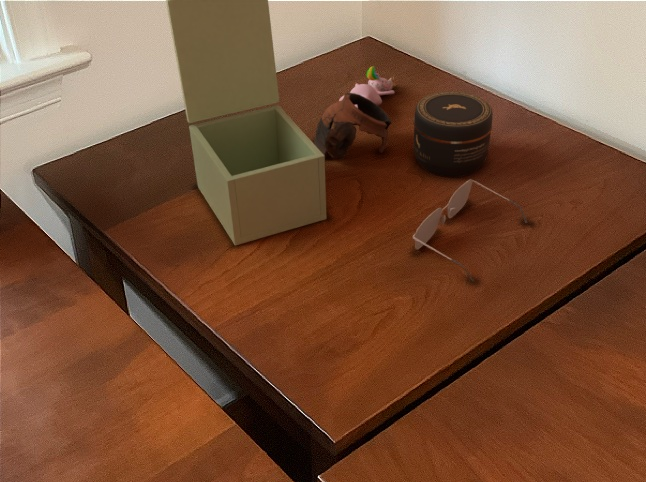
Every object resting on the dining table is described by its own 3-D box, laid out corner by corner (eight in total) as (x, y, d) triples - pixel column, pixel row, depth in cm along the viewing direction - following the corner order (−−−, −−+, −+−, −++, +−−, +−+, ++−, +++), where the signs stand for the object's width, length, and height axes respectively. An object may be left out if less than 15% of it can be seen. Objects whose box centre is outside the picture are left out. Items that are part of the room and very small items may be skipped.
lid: (266, -17, 93) (251, -26, 97) (167, 0, 89) (155, -9, 93) (279, 102, 101) (265, 90, 105) (189, 123, 97) (177, 110, 101)
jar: (398, 150, 110) (400, 99, 105) (462, 134, 113) (467, 83, 109) (435, 187, 103) (439, 134, 98) (502, 169, 106) (509, 116, 101)
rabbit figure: (366, 91, 127) (324, 119, 115) (369, 52, 124) (326, 78, 112) (404, 98, 125) (365, 128, 113) (407, 59, 122) (368, 86, 110)
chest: (326, 219, 98) (324, 155, 92) (235, 245, 94) (227, 181, 88) (282, 165, 107) (278, 104, 102) (197, 187, 103) (188, 125, 98)
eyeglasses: (469, 199, 101) (474, 173, 98) (527, 225, 98) (534, 199, 95) (408, 257, 92) (412, 229, 89) (471, 288, 89) (477, 260, 86)
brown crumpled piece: (318, 130, 115) (346, 81, 112) (374, 167, 115) (404, 119, 112) (292, 153, 105) (323, 100, 101) (354, 194, 105) (387, 142, 101)
